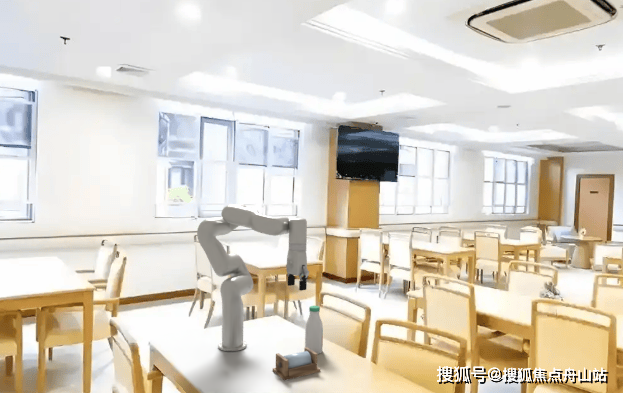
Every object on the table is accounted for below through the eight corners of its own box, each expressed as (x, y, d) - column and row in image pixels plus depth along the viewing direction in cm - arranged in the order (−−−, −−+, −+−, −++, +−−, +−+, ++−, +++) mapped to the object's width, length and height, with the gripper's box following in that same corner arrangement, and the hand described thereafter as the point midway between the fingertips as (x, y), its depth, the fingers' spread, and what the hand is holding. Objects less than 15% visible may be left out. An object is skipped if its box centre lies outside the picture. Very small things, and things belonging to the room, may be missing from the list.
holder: (272, 370, 172) (272, 353, 172) (307, 362, 180) (307, 346, 180) (284, 380, 163) (284, 362, 163) (320, 371, 172) (320, 354, 172)
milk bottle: (320, 355, 188) (321, 309, 188) (303, 353, 190) (304, 308, 189) (323, 349, 196) (324, 305, 195) (307, 347, 197) (307, 303, 197)
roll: (288, 374, 167) (289, 359, 166) (281, 368, 172) (281, 353, 171) (311, 369, 172) (312, 354, 172) (303, 362, 177) (304, 348, 177)
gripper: (280, 245, 189) (279, 284, 189) (300, 250, 174) (299, 293, 174) (295, 244, 193) (294, 282, 193) (316, 249, 178) (315, 291, 178)
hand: (296, 287), depth 184 cm, fingers open, 9 cm apart
